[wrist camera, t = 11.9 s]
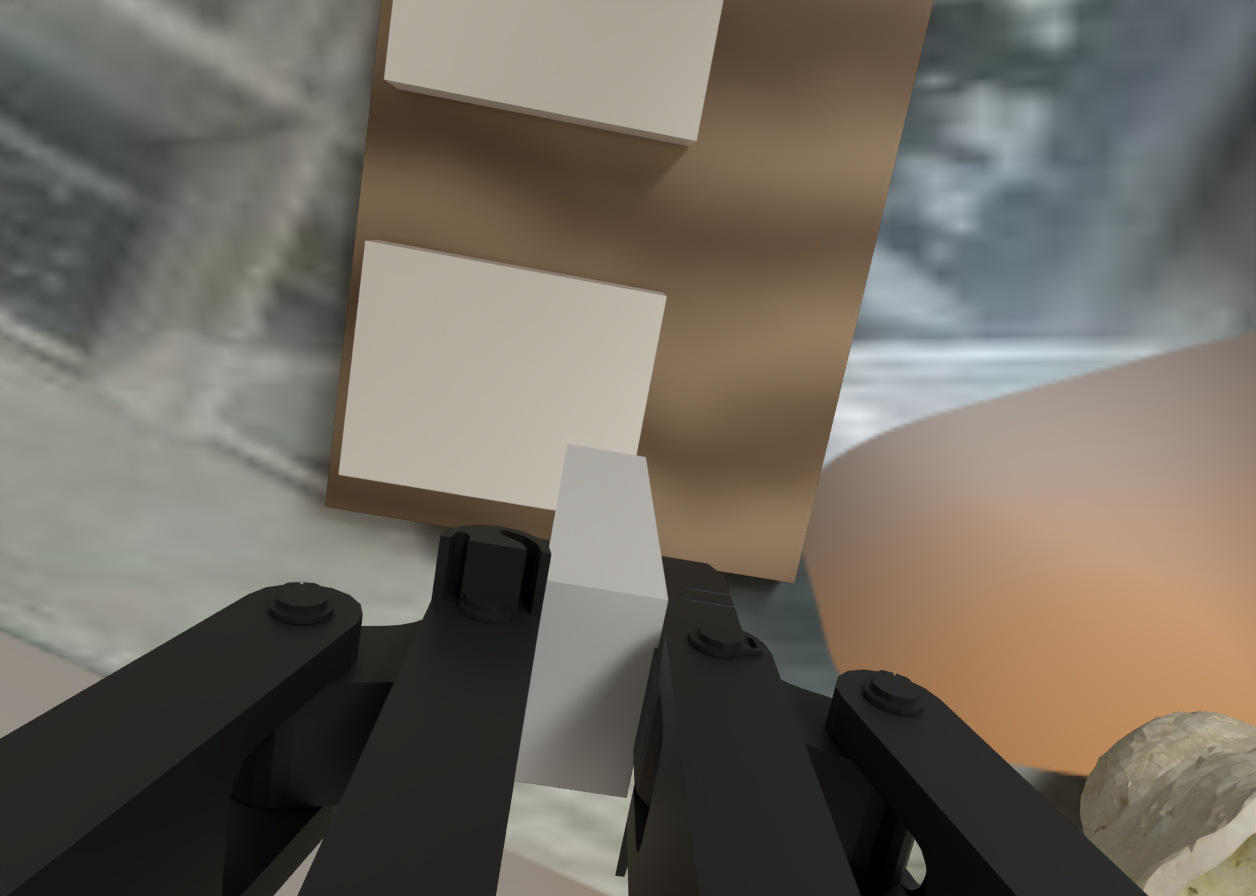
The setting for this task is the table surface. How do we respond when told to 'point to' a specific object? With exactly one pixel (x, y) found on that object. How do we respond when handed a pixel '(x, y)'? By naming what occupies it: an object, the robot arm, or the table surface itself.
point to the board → (677, 257)
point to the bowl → (1178, 805)
